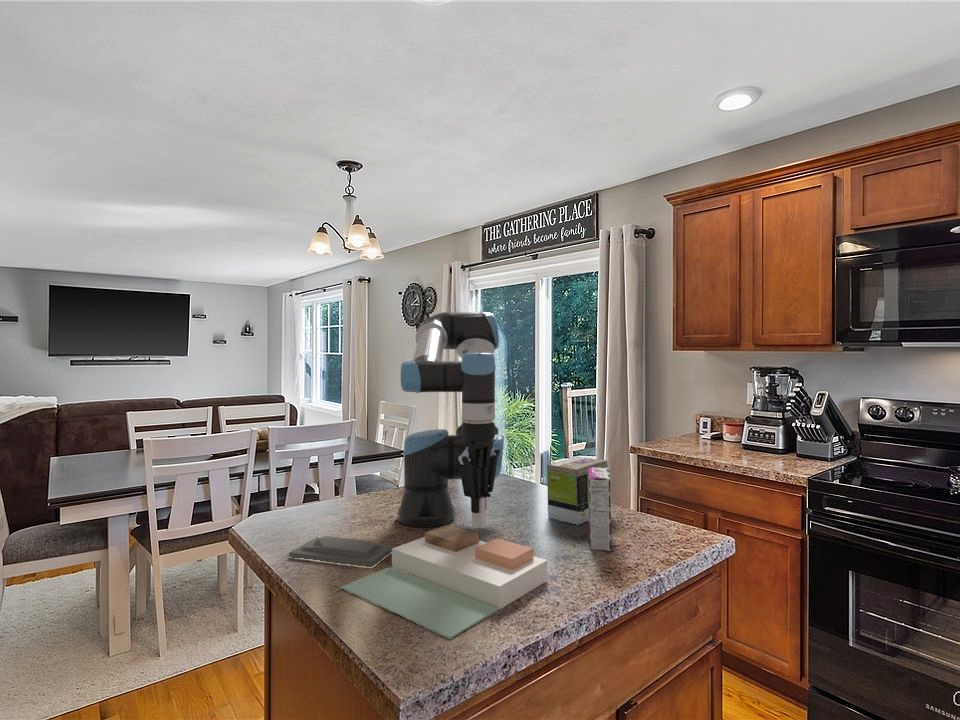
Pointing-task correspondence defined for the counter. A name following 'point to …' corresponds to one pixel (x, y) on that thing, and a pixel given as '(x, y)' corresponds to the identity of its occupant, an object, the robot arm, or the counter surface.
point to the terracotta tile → (504, 553)
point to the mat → (421, 601)
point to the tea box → (570, 488)
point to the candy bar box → (599, 509)
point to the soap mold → (342, 551)
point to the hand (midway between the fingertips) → (478, 526)
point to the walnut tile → (451, 538)
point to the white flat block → (469, 572)
